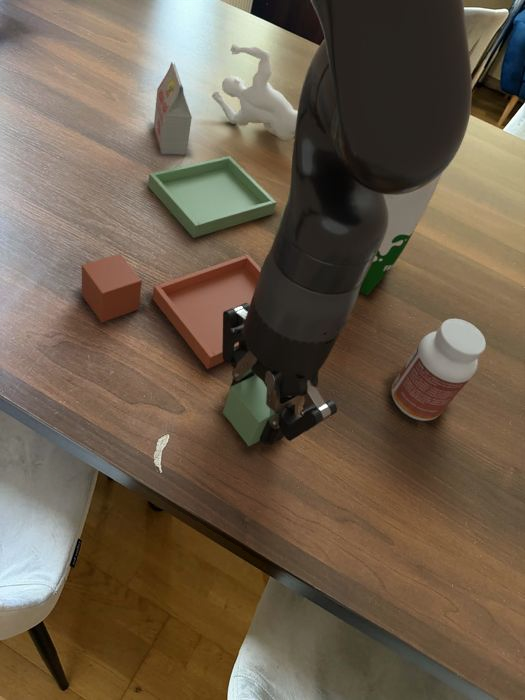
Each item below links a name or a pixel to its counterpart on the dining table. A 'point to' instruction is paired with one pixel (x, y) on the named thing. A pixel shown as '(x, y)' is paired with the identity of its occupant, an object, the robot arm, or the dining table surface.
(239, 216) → the sage tray
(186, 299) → the terracotta tray
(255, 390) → the sage block
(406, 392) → the pill bottle
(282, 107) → the person figurine
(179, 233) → the dining table surface
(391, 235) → the soya milk
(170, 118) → the small milk carton
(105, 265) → the terracotta block
